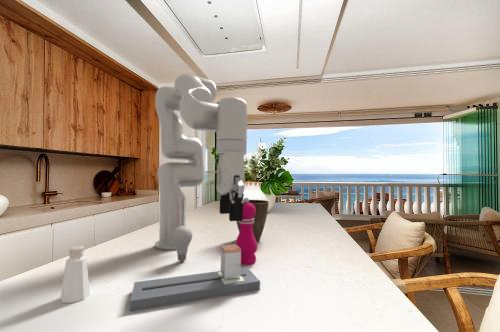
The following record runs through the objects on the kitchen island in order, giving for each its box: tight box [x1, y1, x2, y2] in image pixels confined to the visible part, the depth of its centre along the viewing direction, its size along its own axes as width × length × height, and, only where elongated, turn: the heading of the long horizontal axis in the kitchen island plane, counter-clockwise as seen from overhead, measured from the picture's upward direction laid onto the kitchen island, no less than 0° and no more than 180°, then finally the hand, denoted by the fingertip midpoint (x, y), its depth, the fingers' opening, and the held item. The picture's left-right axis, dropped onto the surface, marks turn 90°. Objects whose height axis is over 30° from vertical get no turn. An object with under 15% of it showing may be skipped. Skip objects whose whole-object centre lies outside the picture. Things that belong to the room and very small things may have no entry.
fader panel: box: [129, 267, 261, 312], centre depth 58 cm, size 9×28×2 cm, turn 110°
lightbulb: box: [172, 226, 193, 263], centre depth 77 cm, size 6×6×11 cm
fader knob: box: [220, 243, 242, 279], centre depth 61 cm, size 4×4×7 cm
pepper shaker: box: [59, 245, 91, 304], centre depth 55 cm, size 5×5×11 cm
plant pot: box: [235, 199, 270, 243], centre depth 103 cm, size 15×15×16 cm
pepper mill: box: [234, 197, 258, 266], centre depth 78 cm, size 7×7×20 cm
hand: (230, 216), depth 62 cm, fingers open, 9 cm apart
